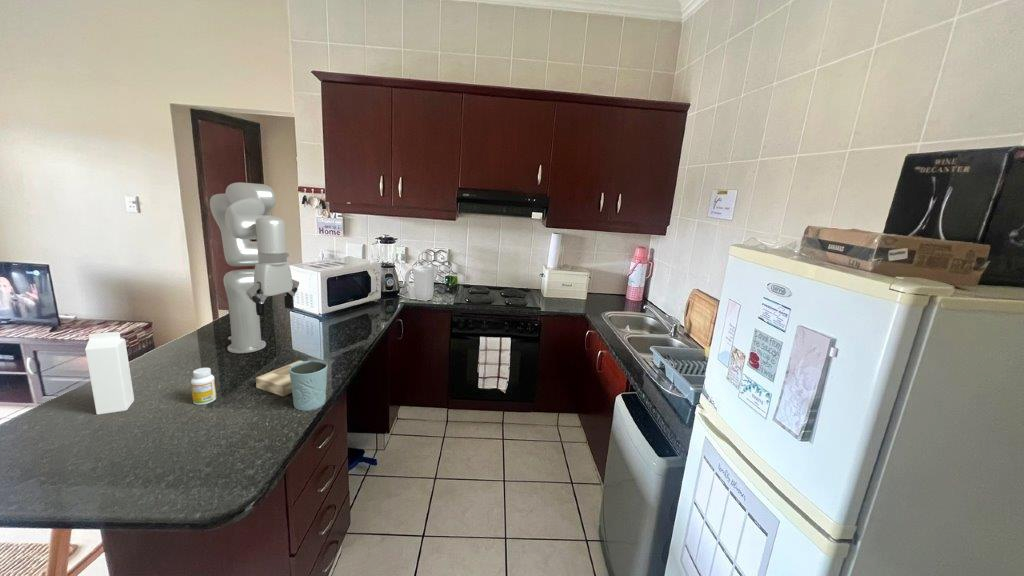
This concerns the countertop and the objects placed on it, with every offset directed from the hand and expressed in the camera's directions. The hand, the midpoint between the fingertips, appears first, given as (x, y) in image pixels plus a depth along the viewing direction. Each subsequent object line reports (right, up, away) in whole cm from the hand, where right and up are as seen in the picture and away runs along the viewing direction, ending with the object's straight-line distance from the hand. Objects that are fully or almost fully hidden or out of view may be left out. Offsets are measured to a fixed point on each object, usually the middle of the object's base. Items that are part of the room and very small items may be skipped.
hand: (276, 311), depth 119 cm
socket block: (+1, -24, +8) cm, 25 cm away
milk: (-36, -26, -14) cm, 47 cm away
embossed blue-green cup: (+13, -28, -4) cm, 31 cm away
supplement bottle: (-17, -26, -7) cm, 32 cm away
